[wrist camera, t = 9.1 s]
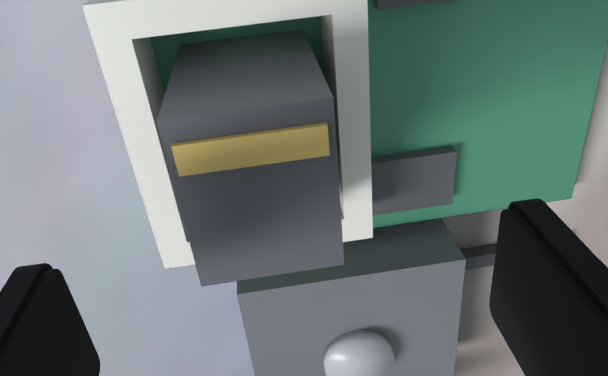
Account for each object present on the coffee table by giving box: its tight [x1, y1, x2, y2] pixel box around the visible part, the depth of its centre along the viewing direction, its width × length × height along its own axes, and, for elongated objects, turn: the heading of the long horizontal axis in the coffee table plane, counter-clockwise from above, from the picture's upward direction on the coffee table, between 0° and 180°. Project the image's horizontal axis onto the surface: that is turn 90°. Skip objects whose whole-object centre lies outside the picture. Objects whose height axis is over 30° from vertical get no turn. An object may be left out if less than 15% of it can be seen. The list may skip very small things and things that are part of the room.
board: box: [82, 0, 608, 269], centre depth 17 cm, size 17×12×3 cm
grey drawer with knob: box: [237, 218, 497, 376], centre depth 23 cm, size 15×9×4 cm, turn 95°
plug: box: [157, 29, 344, 286], centre depth 15 cm, size 4×6×6 cm
